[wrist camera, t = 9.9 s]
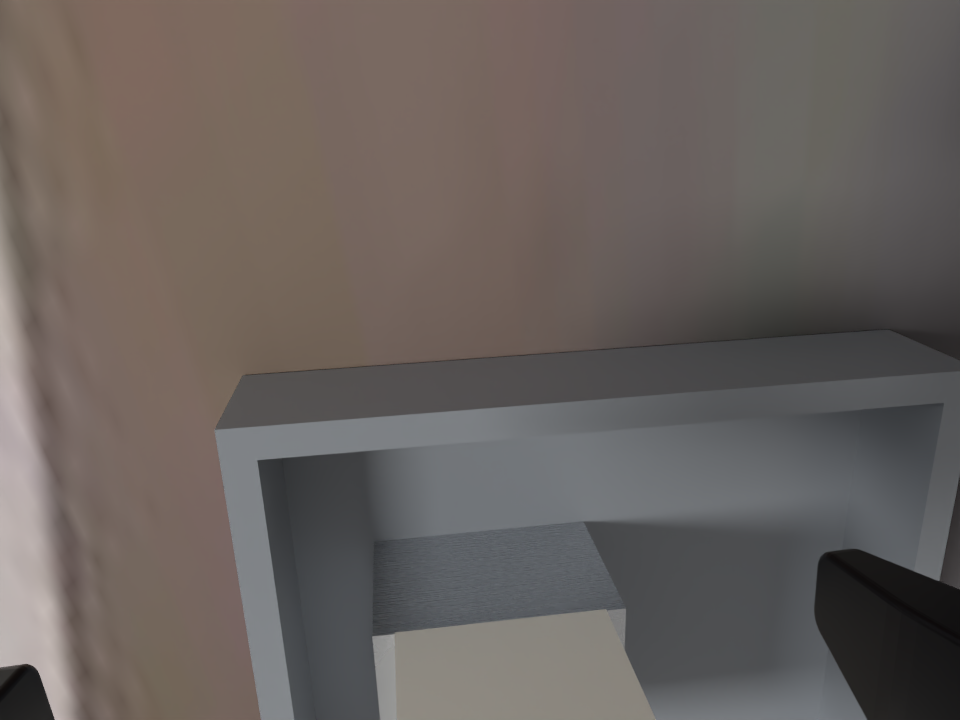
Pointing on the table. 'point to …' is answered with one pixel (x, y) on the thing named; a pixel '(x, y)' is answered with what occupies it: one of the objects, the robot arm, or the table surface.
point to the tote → (598, 501)
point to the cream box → (518, 671)
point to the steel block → (483, 585)
